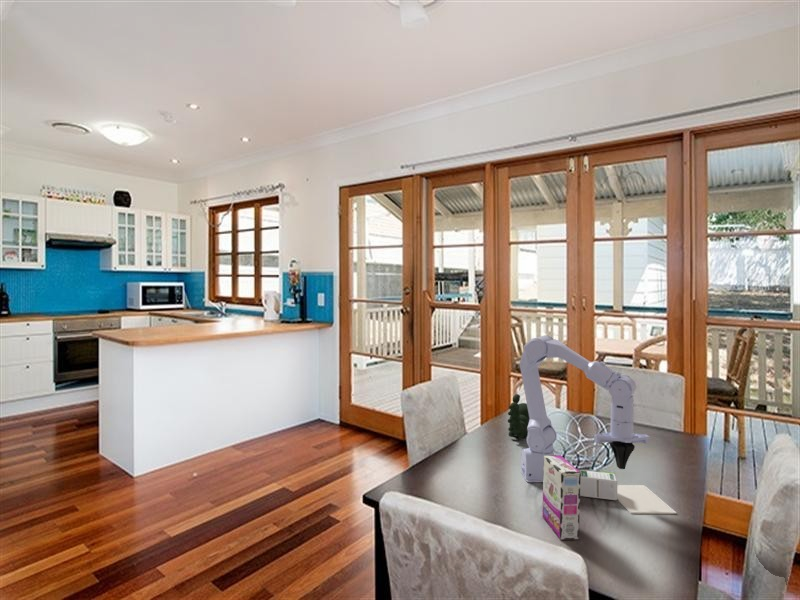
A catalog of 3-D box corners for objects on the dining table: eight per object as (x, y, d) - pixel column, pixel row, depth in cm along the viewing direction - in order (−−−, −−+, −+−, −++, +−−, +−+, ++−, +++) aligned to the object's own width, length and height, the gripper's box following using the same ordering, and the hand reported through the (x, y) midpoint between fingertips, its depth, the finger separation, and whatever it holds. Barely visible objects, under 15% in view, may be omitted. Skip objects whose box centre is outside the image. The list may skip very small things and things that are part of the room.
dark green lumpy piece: (526, 449, 169) (539, 424, 191) (525, 400, 167) (539, 381, 189) (501, 444, 174) (517, 421, 196) (500, 397, 172) (516, 379, 193)
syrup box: (617, 480, 125) (561, 473, 130) (617, 501, 125) (561, 493, 130) (615, 472, 130) (561, 466, 135) (615, 492, 131) (561, 485, 135)
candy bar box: (580, 540, 107) (581, 472, 106) (560, 541, 106) (561, 472, 106) (560, 515, 118) (561, 454, 117) (541, 516, 118) (542, 454, 117)
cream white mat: (630, 513, 119) (630, 512, 119) (604, 486, 135) (604, 484, 135) (676, 514, 119) (676, 512, 119) (644, 486, 135) (644, 485, 135)
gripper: (602, 424, 122) (601, 473, 123) (655, 424, 122) (654, 473, 123) (591, 416, 129) (590, 463, 130) (642, 416, 129) (641, 463, 130)
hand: (620, 467), depth 127 cm, fingers closed
